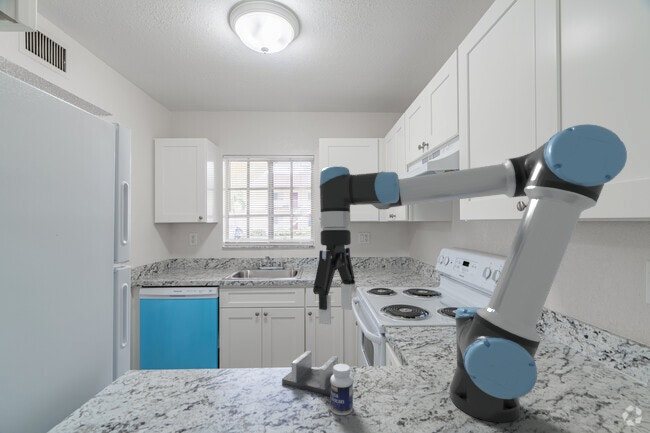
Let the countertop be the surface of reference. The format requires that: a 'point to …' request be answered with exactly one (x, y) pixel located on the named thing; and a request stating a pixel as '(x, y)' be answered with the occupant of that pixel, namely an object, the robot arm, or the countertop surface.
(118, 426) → the countertop surface
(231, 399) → the countertop surface
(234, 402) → the countertop surface
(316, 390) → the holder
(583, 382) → the countertop surface
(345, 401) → the pill bottle
